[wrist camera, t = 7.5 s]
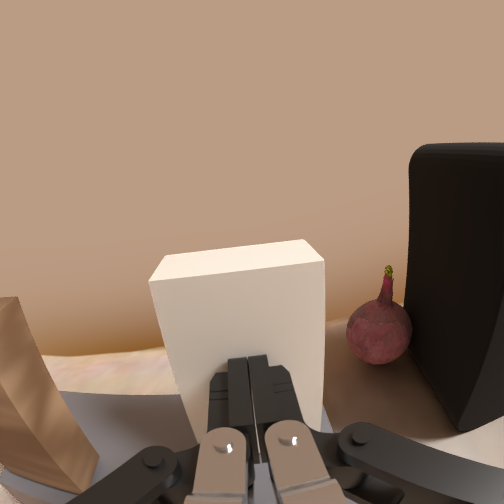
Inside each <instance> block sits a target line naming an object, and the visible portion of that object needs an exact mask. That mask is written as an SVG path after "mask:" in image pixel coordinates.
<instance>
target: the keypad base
mask: <svg viewBox="0 0 504 504" xmlns="http://www.w3.org/2000/svg"><path fill="white" fill-rule="evenodd" d="M59 393H60V395H61V396H62V398H63V400H64V402H65V403H66V405H67V407H68V409H69V410H70V412H71V414H72V415H73V417H74V419H75V420H76V422H77V423H78V425H79V427H80V428H81V430H82V431H83V433H84V434H85V436H86V437H87V439H88V440H89V442H90V443H91V444H92V446H93V447H94V449H95V450H96V452H97V453H98V454H99V456H100V458H99V461H98V464H97V467H96V470H95V473H94V476H93V479H92V483H91V486H93V485H94V484H96V483H97V482H99V481H100V480H101V479H103V478H104V477H106V476H107V475H108V474H110V473H111V472H113V471H114V470H115V469H117V468H118V467H120V466H121V465H122V464H124V463H125V462H126V461H128V460H129V459H130V458H132V457H133V456H134V455H136V454H137V453H138V452H140V451H141V450H143V449H144V448H146V447H150V446H164V447H167V448H169V449H171V450H172V451H173V452H174V453H176V452H179V451H183V450H187V449H190V448H193V447H195V446H196V445H198V442H197V440H196V437H195V435H194V432H193V429H192V427H191V424H190V421H189V419H188V416H187V413H186V410H185V407H184V405H183V402H182V399H181V396H180V394H177V395H111V394H92V393H78V392H66V391H59ZM320 432H324V433H334V432H333V429H332V427H331V424H330V421H329V419H328V416H327V414H326V411H325V408H324V406H323V403H322V415H321V429H320ZM259 458H260V464H254V468H255V504H276V501H275V497H274V493H273V489H272V485H271V481H270V474H269V468H268V463H262V460H261V454H260V453H259ZM0 484H1V485H2V486H4V487H5V488H6V489H7V490H8V491H9V492H10V493H11V494H12V495H13V496H14V497H15V498H16V499H18V500H19V501H20V502H21V503H22V504H65V503H67V502H69V501H70V500H72V499H73V498H75V497H76V496H78V495H79V494H75V493H71V492H68V491H64V490H61V489H57V488H54V487H51V486H47V485H44V484H41V483H38V482H35V481H33V480H30V479H27V478H24V477H22V476H19V475H17V474H14V473H12V472H10V471H9V470H8V469H7V468H6V467H5V468H4V470H3V472H2V474H1V476H0ZM91 486H90V487H91ZM345 498H346V497H345ZM346 500H347V503H348V504H358V503H356V502H354V501H352V500H350V499H348V498H346Z"/></svg>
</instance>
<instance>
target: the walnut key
mask: <svg viewBox="0 0 504 504" xmlns="http://www.w3.org/2000/svg"><path fill="white" fill-rule="evenodd" d="M99 458H100V456H99V454H98V453H97V452H96V450H95V449H94V447H93V446H92V444H91V443H90V442H89V440H88V439H87V437H86V436H85V434H84V433H83V431H82V430H81V428H80V427H79V425H78V423H77V422H76V420H75V419H74V417H73V415H72V414H71V412H70V410H69V409H68V407H67V405H66V403H65V402H64V400H63V398H62V396H61V395H60V393H59V391H58V389H57V387H56V385H55V383H54V382H53V380H52V378H51V376H50V374H49V372H48V370H47V368H46V366H45V363H44V361H43V359H42V357H41V355H40V353H39V350H38V348H37V346H36V344H35V341H34V339H33V337H32V334H31V332H30V329H29V327H28V324H27V322H26V319H25V316H24V314H23V311H22V308H21V305H20V302H19V299H18V297H4V298H0V461H1V462H2V464H3V465H4V466H5V467H6V468H7V469H8V470H9V471H10V472H12V473H14V474H17V475H19V476H22V477H24V478H27V479H30V480H33V481H35V482H38V483H41V484H44V485H47V486H51V487H54V488H57V489H61V490H64V491H68V492H71V493H75V494H81V493H82V492H84V491H85V490H87V489H88V488H90V486H91V483H92V479H93V476H94V473H95V470H96V467H97V464H98V461H99Z"/></svg>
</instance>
